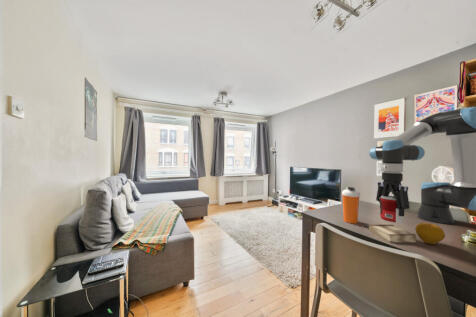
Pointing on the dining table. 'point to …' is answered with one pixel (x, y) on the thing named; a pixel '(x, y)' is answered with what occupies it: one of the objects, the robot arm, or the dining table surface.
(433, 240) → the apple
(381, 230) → the dock
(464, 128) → the robot arm
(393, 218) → the canned food
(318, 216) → the dining table surface
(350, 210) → the shaker bottle
